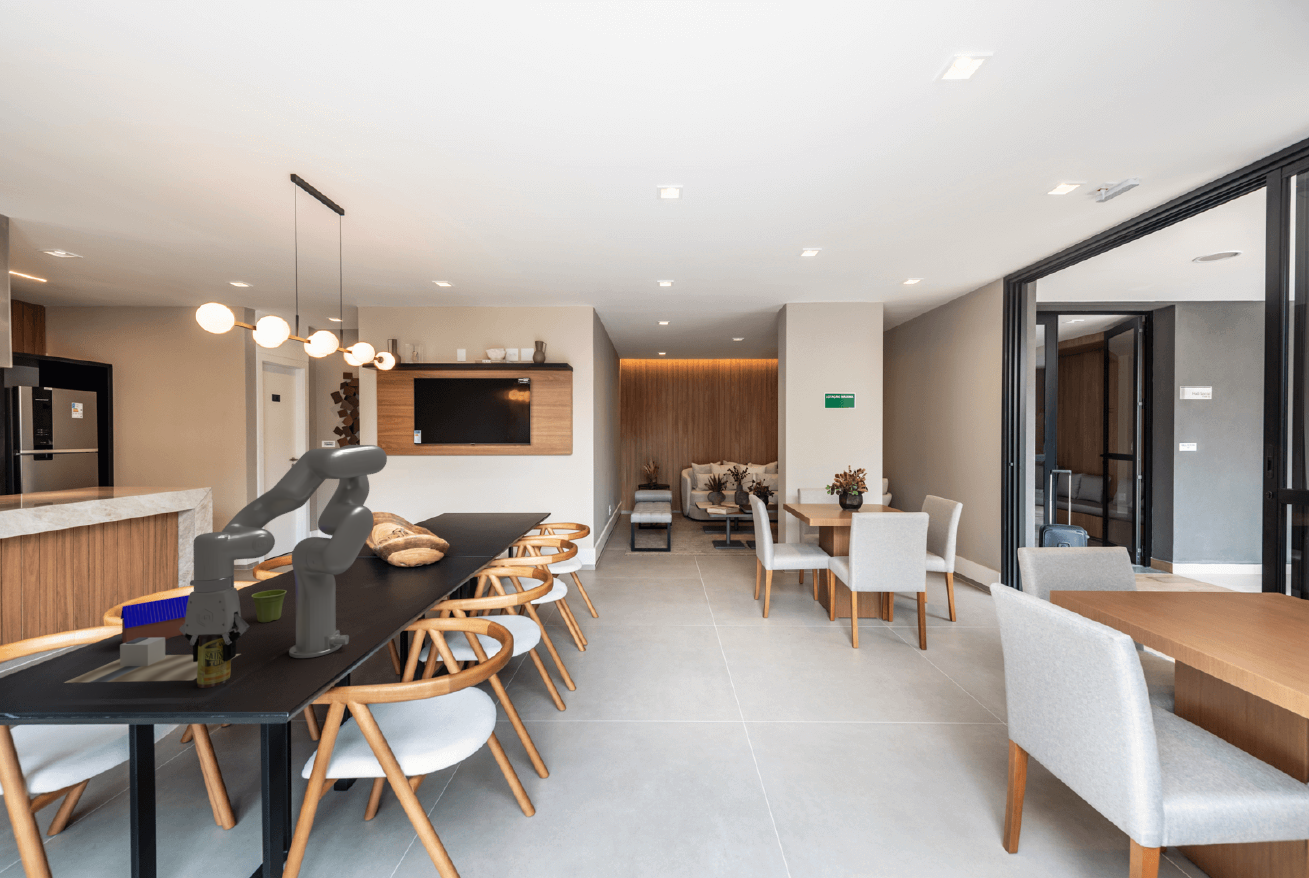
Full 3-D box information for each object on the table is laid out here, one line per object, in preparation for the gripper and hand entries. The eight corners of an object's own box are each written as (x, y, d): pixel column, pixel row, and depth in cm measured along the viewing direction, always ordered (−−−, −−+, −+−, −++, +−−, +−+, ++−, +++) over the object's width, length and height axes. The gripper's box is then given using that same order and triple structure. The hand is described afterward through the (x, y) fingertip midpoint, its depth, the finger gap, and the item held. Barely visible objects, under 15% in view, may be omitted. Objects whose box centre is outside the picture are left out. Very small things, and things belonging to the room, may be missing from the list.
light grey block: (165, 658, 143) (165, 636, 143) (147, 665, 138) (147, 643, 138) (138, 658, 143) (138, 636, 143) (120, 666, 138) (120, 643, 138)
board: (241, 658, 145) (241, 653, 145) (192, 685, 129) (192, 680, 129) (127, 660, 144) (127, 655, 144) (63, 687, 128) (63, 682, 128)
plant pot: (258, 616, 180) (258, 590, 180) (290, 613, 183) (290, 588, 183) (246, 625, 171) (246, 598, 171) (280, 622, 174) (280, 595, 174)
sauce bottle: (204, 695, 124) (203, 609, 124) (192, 689, 127) (191, 605, 127) (237, 683, 130) (236, 601, 130) (224, 678, 133) (223, 598, 133)
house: (120, 641, 159) (120, 602, 159) (207, 623, 174) (207, 587, 174) (125, 652, 151) (124, 610, 151) (215, 632, 166) (215, 594, 166)
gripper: (163, 589, 125) (163, 666, 125) (239, 588, 125) (240, 665, 125) (190, 580, 132) (190, 653, 132) (262, 579, 133) (262, 652, 133)
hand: (214, 658), depth 129 cm, fingers closed on sauce bottle, 6 cm apart
